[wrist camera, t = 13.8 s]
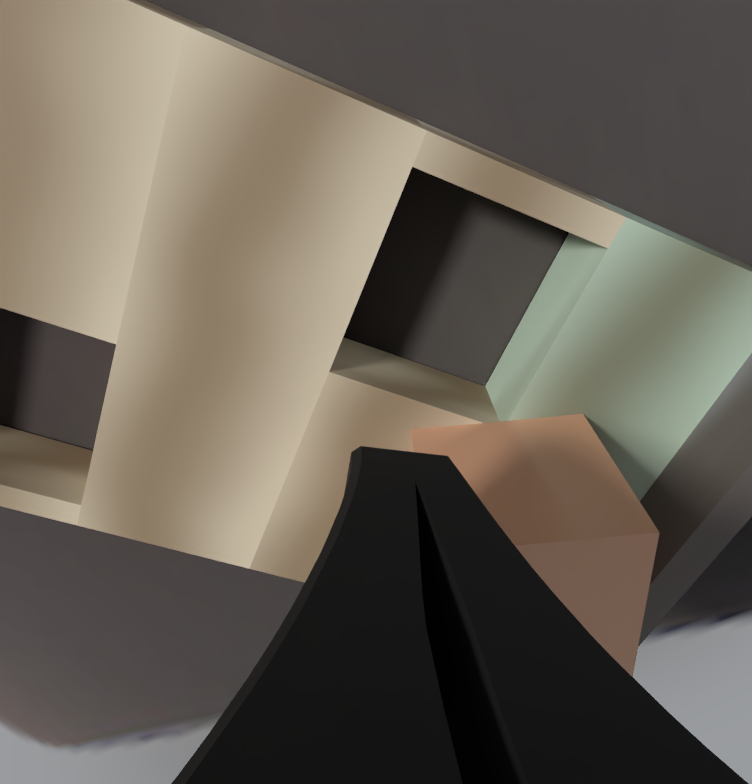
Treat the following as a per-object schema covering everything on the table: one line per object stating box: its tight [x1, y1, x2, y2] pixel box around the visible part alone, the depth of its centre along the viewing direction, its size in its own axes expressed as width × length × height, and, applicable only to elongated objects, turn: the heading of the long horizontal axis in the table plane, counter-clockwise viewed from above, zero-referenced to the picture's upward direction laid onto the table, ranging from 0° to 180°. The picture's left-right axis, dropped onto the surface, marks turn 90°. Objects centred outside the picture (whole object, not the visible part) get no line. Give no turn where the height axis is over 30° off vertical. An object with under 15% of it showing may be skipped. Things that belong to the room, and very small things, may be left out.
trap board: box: [0, 0, 752, 646], centre depth 14 cm, size 20×12×4 cm, turn 68°
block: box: [411, 414, 660, 676], centre depth 14 cm, size 4×4×4 cm
